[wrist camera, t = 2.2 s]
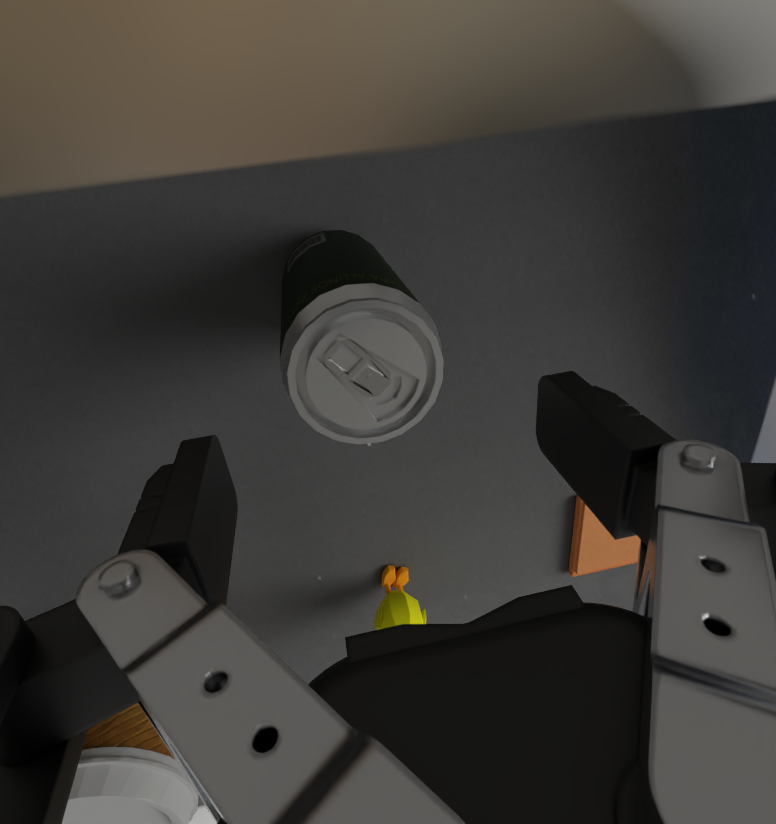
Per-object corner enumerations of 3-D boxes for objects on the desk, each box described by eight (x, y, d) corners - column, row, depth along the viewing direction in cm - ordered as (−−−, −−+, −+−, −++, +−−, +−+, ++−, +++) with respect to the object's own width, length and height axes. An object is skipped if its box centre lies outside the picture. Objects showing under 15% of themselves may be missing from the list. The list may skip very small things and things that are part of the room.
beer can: (260, 286, 25) (241, 389, 15) (329, 203, 24) (362, 251, 14) (339, 350, 28) (371, 476, 17) (406, 277, 26) (484, 366, 16)
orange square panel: (676, 474, 37) (685, 481, 36) (659, 551, 41) (666, 559, 40) (576, 495, 36) (582, 502, 35) (568, 571, 40) (573, 580, 39)
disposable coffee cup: (43, 628, 33) (-67, 848, 23) (166, 568, 33) (111, 766, 22) (137, 695, 38) (81, 902, 28) (245, 644, 38) (230, 836, 27)
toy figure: (385, 536, 35) (426, 704, 24) (431, 542, 36) (490, 705, 26) (360, 604, 38) (387, 780, 27) (403, 607, 39) (446, 777, 28)
